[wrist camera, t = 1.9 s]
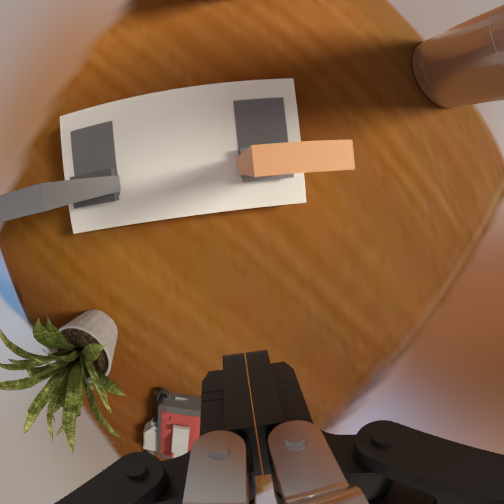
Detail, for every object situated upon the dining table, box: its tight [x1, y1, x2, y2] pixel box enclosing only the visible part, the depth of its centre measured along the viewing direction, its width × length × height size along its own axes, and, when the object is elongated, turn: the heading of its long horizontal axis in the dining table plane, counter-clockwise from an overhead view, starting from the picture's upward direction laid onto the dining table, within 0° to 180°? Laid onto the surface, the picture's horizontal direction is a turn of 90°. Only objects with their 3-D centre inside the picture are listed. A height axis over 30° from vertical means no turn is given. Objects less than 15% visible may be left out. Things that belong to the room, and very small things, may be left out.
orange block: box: [237, 140, 355, 182], centre depth 21 cm, size 5×3×14 cm, turn 96°
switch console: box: [60, 78, 306, 234], centre depth 29 cm, size 23×12×3 cm, turn 96°
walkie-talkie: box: [143, 388, 202, 459], centre depth 37 cm, size 9×4×20 cm
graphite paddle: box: [0, 168, 121, 222], centre depth 20 cm, size 5×3×14 cm, turn 96°
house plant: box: [0, 309, 125, 452], centre depth 26 cm, size 14×14×16 cm
